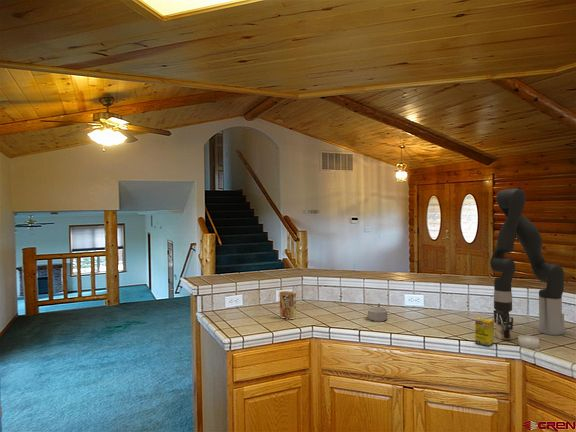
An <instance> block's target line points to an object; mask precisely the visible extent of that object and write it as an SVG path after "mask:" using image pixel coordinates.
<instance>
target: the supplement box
mask: <svg viewBox="0 0 576 432" xmlns="http://www.w3.org/2000/svg"><path fill="white" fill-rule="evenodd" d="M494 323H495V322H494V319H490V318H484V317H478V318H476V319H475V323H474V324H475V325H474V328H475V329H474V330H475V331H474V333H475V345H480V346H485V347H488V348H490V347H491V346H492V345H494V343H495V342H494V341H495V339H494V338H495V337H494V332H495V331H494V329H495V328H494V327H495V326H494V325H495V324H494Z"/></svg>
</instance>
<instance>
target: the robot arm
mask: <svg viewBox="0 0 576 432" xmlns="http://www.w3.org/2000/svg"><path fill="white" fill-rule="evenodd" d="M495 199H496V203H497V205H498V208H500V210H501V212H502V213H503V215H504V217H505V218H506V219H505V221H504V223H503V224H502V226H501V227H500V229H499V231H498V235H497V240H496V247H495V249H494V251H493V253H492V256H491V258H490V261H489V265H490V266H489V267H490V268H491V269H492V271H493V272H498V273H501V276H497V277H495V278H494V280H493V283H494V284H493V285H494V287H493V289H494V290H493V320H494V323H495V325H496V324H502V325H503V327H504V338H510V330H511V331H513V326H514V317H513V316H511V317H510V312H512V311H513V294H512V292H513V291H512V282H513V279H514V278H513V277H514V275H515V271H516V262H515V261H514V260H513V259H512V258H509V257H505V256H506V254H511V253H512V252H513V251H514V248H515V238H517V240H518V241H519V243H520V245H521V247H522V249H523V250H524V252H525V256H526V257H527V259H528V261H529V264H530V267H531V269H532V272H533V274H534V276H535V278H536V279H537V280H538V281H540V282H543V283H546V287H545V288H543V289H539V290H538V330H539V332H540V333H542V334H544V335H545V334H546V335H551V336H561V335H565V314H564V313H563V297H562V296H563V293H564V292H565V289H564V288H565V273H564V272H565V271H564V269H563V268H562V266H561V265H558V264H553V263H548V262H547V261H546V259H545V257H544V256H543V254H542V249H543V237H542V235H541V234H540V231H539V230H538V227H537V226H536V225H535V224H534V223H533V222H532V221H531V220H530V219H528V217H526V216H524V215H523V214H522V213H523V210H524V207H525V204H526V194H525V192H524V191H523V190H522V189H521V188H507V189H501V190H500V191H498V192H497V193H496V196H495ZM505 325H506V326H505Z"/></svg>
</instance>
